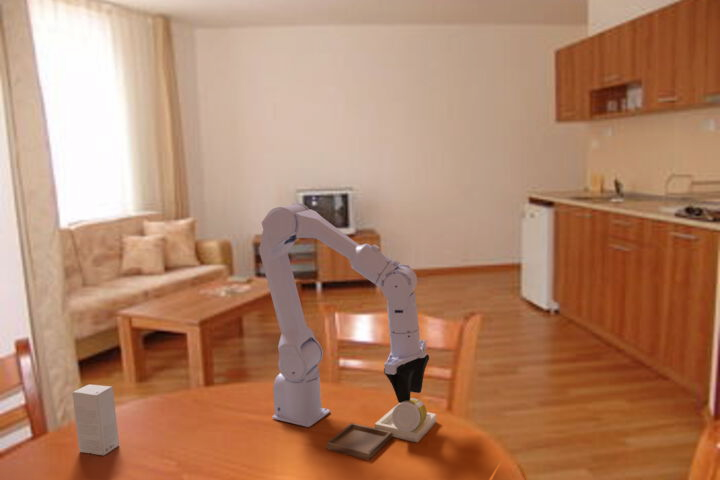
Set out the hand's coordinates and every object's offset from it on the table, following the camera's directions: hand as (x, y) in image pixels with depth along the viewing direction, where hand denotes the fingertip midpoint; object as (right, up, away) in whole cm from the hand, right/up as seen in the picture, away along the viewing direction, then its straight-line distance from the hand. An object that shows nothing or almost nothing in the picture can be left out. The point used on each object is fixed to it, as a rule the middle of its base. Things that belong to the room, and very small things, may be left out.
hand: (410, 397), depth 110 cm
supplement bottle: (-2, -2, -6) cm, 7 cm away
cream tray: (-1, -6, +1) cm, 6 cm away
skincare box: (-60, -10, -2) cm, 60 cm away
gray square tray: (-10, -7, -4) cm, 13 cm away
